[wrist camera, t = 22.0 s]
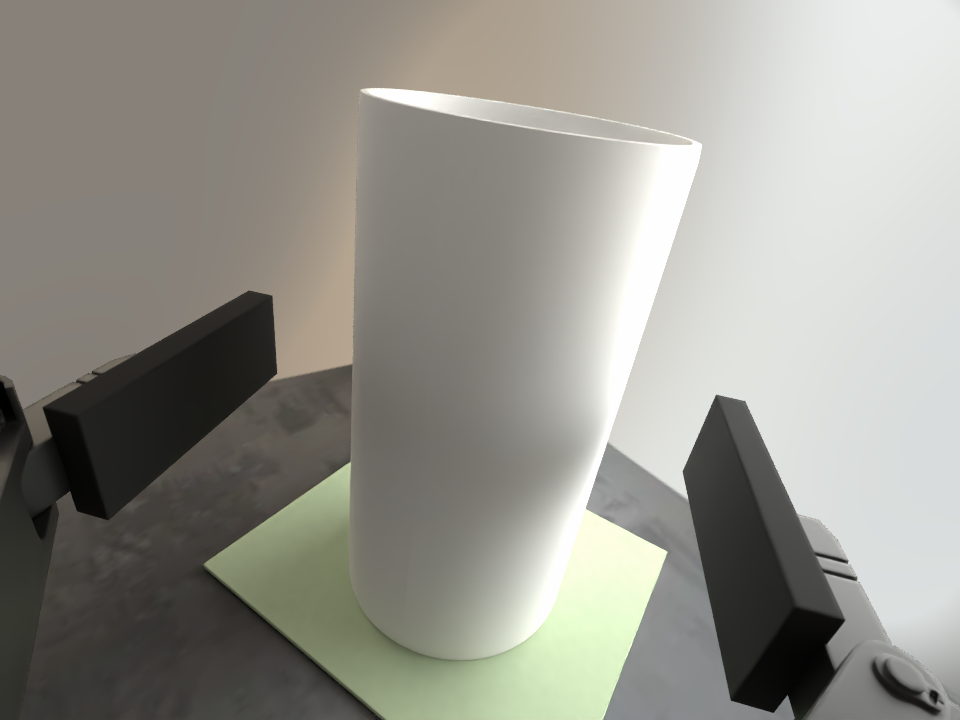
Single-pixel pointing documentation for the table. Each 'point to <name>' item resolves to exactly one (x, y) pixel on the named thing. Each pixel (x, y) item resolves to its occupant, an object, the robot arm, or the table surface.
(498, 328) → the cup
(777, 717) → the table surface
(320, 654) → the placemat
